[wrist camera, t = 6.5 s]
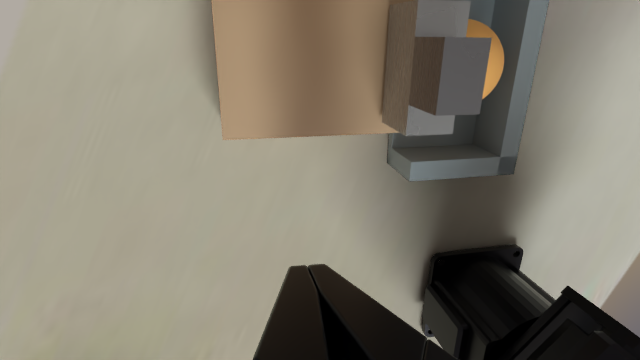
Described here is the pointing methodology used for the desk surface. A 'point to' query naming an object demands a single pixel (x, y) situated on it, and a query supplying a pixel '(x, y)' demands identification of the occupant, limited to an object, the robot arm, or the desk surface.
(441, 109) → the gray zigzag block
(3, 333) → the desk surface
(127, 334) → the desk surface
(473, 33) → the ball
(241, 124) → the tan block
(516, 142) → the tray
